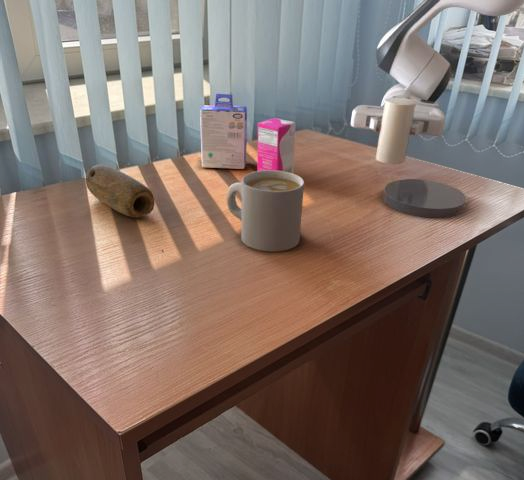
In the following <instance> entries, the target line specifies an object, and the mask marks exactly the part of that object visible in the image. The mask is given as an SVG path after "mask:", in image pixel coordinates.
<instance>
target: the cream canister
mask: <svg viewBox="0 0 524 480" xmlns="http://www.w3.org/2000/svg"><path fill="white" fill-rule="evenodd" d="M415 108H416V101H414V100H411V99H406V98H387V99H386V100H385V105H384V111H383V116H382V122H381V123H382V124H381V130H380V132H379V135H378V141H377V147H376V153H375V160H376V161H377V162H379V163H381V164H387V165H401V164H404V163H405V162H406V157H407V152H408V148H409V142H410V136H411V135H410V132H411V127H412V123H413V118H414V113H415Z"/></svg>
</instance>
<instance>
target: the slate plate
mask: <svg viewBox="0 0 524 480" xmlns="http://www.w3.org/2000/svg"><path fill="white" fill-rule="evenodd" d="M382 199H383V201H384V203H385V204H386V205H387V206H389V207H390V208H392V209H394V210H395V211H398V212H401V213H404V214H406V215H410V216H415V217H422V218H430V219H431V218H433V219H442V218H443V219H444V218H450V217H454V216H457V215H459V214H461V213H462V212H463V211H464V209H465V206H466V203H467V196H466V195H465V193H463V191H462V190H460V189H458V188H456V187H454V186H452V185H449V184H446V183H443V182H440V181H434V180H430V179H429V180H428V179H423V178H422V179H419V178H404V179H397V180H393V181H390V182H389V183H387V184H386V185H385V186H384V189H383V194H382Z"/></svg>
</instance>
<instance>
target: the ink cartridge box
mask: <svg viewBox="0 0 524 480" xmlns="http://www.w3.org/2000/svg"><path fill="white" fill-rule="evenodd" d="M222 98H223V99H224V98H225V99H227V100H229V101H223V100H222V101H221V100H219V99H222ZM199 122H200V147H201V148H200V150H201V151H200V154H201V168H209V169H211V168H212V169H213V168H214V169H216V168H217V169H233V170H234V169H236V170H245V167H246V164H247V144H248V143H247V141H248V140H247V139H248V108H247V106H246V105H234V103H233V94H228V93H227V94H225V93H216V94H215V102H214V105H213V104H212V105H211V104H203V105H202V107H201V109H199Z"/></svg>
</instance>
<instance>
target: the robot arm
mask: <svg viewBox="0 0 524 480" xmlns="http://www.w3.org/2000/svg"><path fill="white" fill-rule="evenodd" d="M523 5H524V0H422V1H421V2H420V3H419V4H418V5H417V6H416V7H415V8H414V9H413V10H412V11H411V12H410V13H409V14H408V15H407V16H406V17H404V18H403V19H402V20H401V21H400V22H399V23H397V24H396V25H395V26H393V27H392V28H391V29H389V30H388V31H387V32H386V33H385V34H384V36H383V37H381V39H380V41H379V42H378V44H377V46H376V49H375V58H376V64H377V67H378V68H379V69H381V70H382V71H384V72H385V73H386V74H387V75H390V76H391V77H392V78H393V79H395V80H396V81H397V82H398V84H397V83H396V84H394V85H392V86H391V87H390V88H389V89H388V90H387V91H386V92H385V94H384V96H383V98H382V100H381V103H380V105H369V104H360V105H357V106H356V107H354V109H352V112H351V118H350V126H351V127H352V128H355V129H362V130H371V131H372V130H373V132H379V133H380V130H381V124H382V123H381V122H382V116H383V111H384V105H385V100H386V99H387V98H406V99H411V100H414V101H416V108H415V113H414V118H413V123H412V127H411V132H410V136H415V137H417V136H418V135H420V136H429V137H431V136H432V137H441V136H442V134H443V132H444V131H443V130H444V129H445V123H446V116H445V114H444V112H443V110H441V108H439V107H440V104H439V103H438V102H437V101H438V100H439V98H440V97H441V96H442V94H444V92H445V90H446V89H447V87H448V85H449V83H450V81H451V75H452V65H451V63H450V62H449V60H447V59H446V58H445V57H444V56H443V55H442V54H440V52H439V51H437V50H435V48H433V47H432V46H431V45H430V44H429V43H428V42H426V40H425V39H423V38H422V37H421V36H420V35H419V32H420V31H421V30H423V28H424V27H426V26H427V25H428V24H429V23H430V22H431V21H433V19H435V18H436V17H437V16H438V15H439V14H440V13H441V12H443V11H444V10H446V9H449V8H459V9H460V8H461V9H466V10H468V11H472V12H475V13H478V14H481V15H484V16H489V17H491V16H492V17H501V16H507V15H509V14H512V13H514V12H516V11H517V10H518V9H520V8H521V7H522V6H523Z"/></svg>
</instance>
